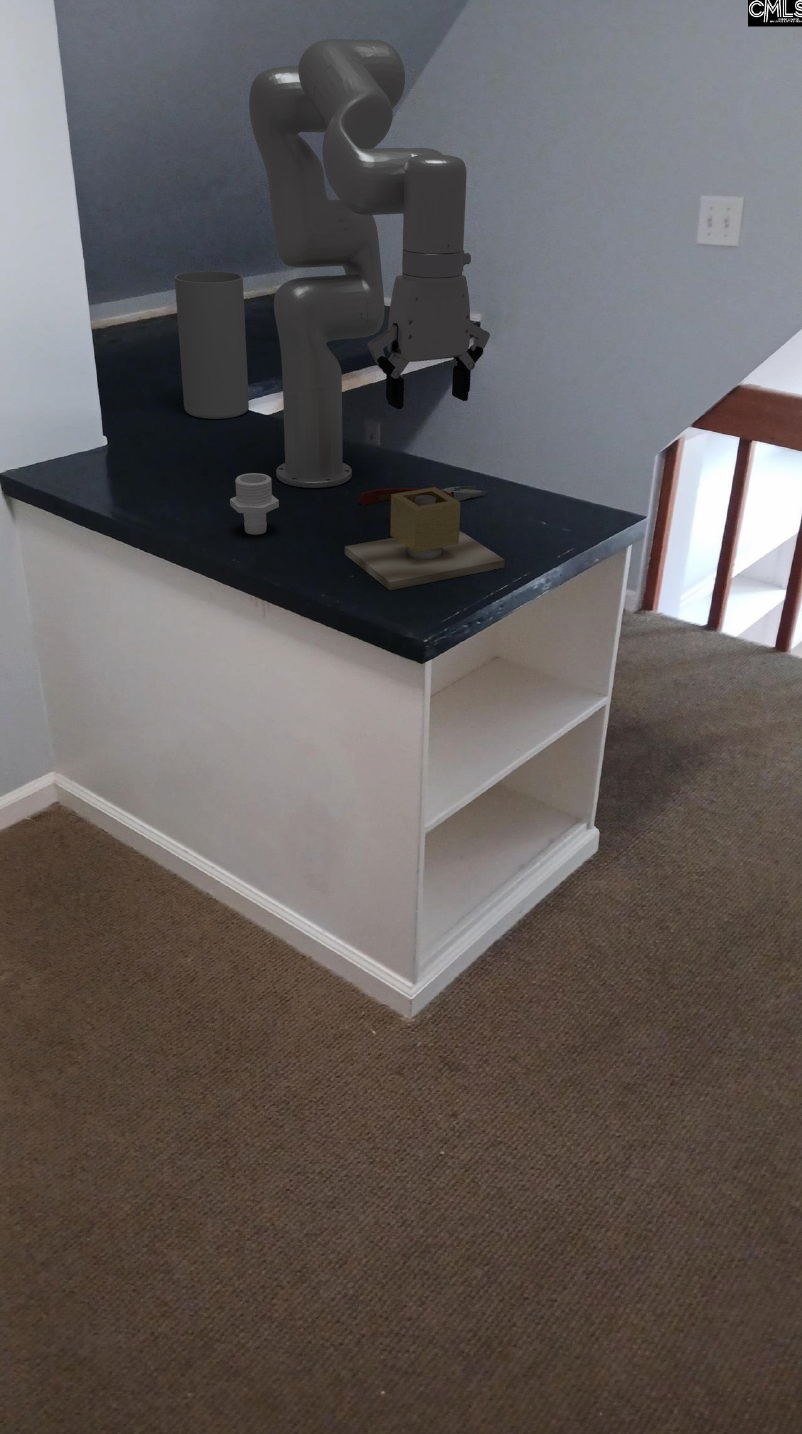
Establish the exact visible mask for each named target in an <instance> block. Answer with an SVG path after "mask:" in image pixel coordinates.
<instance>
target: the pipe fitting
mask: <svg viewBox="0 0 802 1434" xmlns="http://www.w3.org/2000/svg"><path fill="white" fill-rule="evenodd" d="M234 482H235V492H236V493H235V495H236V496H234V497H231V498H230V499H229V504H230V507H231V508H233V510H235V511H236V512H237V513H239V514H243V518H244V519H243V524H244V532H245V533H247V534H248V535H249V534H250V535H263V534H265V533H266V532H267V523H268V522H267V513H269V512H270V511H274V510H275V509H278V508H279V507H280V506H279V505H280V503H279V502H280V501H279V499H277V497H275V496H274V495H273V493H272V492H273V490H272V489H273V488H272V484H273V483H272V477H270V476H269V475H267V474H264V473H256V472H255V473H254V472H251V473H249V472H248V473H244V474H240V475H238V476H237V477H236V478H235V480H234Z"/></svg>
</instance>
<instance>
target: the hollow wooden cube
mask: <svg viewBox="0 0 802 1434" xmlns="http://www.w3.org/2000/svg"><path fill="white" fill-rule="evenodd" d="M436 487H437V486H435V487H433V488H431V487H426V488H427V489H421V490H415V491H409V492H402V493H396V494H391V501H390V513H391V523H390V536H391V538H395V539H396V540H398V541H399V542H401V543H402V544H403V545H405V546H406V547H408V548H409V549H411V550H412V551H413V552H419V551H424V550H429V549H435V548H440V547H445V546H451V545H456V544H459V530H460V524H461V523H460V522H461V521H460V520H461V501H457V500H455V499H454V498H452V497H450V496H449V495H447V494H446V493H444V492H442V491H441V490H442V489H440V488H439V489H437V488H436ZM420 495H430V496H434V497H435V498H436V503H435V504H429V505H423V506H418V505H416V504H415V498H416V497H417V496H420Z"/></svg>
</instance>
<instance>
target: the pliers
mask: <svg viewBox="0 0 802 1434" xmlns="http://www.w3.org/2000/svg"><path fill="white" fill-rule="evenodd" d="M433 487H436V488H437V489H439V490H441V491H442V492H444V493H446V494H447V495H449V496H450V497H452V498H454V499H455V500H457V501H459V502H461V501H465V500H470V499H472V498H476V497H480V496H482V495H486V494H487V492H488V491H486V490H477V489H478V485H463V486H452V487H446V488H445V487H444V488H442V489H440V487H438V486H436V484H431V485H430V488H433ZM427 488H428V487H389V488H388V487H387V488H378V489H374V490H373V489H372V490H368V491H364V492H362V493H361V494H360V495H359V499H358V502H359V505H360V506H361V505H363V506H366V505H367V504H368V505H371V504H377V503H384V502H385V503H386V502H391V494H396V493H402V492H409V491H415V490H421V489H427ZM388 520H389V523H390V524H391V512H390V513H389V517H388Z"/></svg>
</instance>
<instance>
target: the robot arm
mask: <svg viewBox="0 0 802 1434" xmlns="http://www.w3.org/2000/svg"><path fill="white" fill-rule="evenodd" d="M405 73H406V72H405V66H404V63H403V59H402V58H401V56H400V54H399V53H398V51H397V50H396V48H395V47H394V46H393V45H391V44H390V43H388V42H387V41H384V40H381V39H350V38H349V39H347V38H331V39H322V40H319V41H316V42H315V43H313V44H311V45H310V46H308V47H307V48H306V49H305V50H304V52H303V54H302V55H301V57H300V60H299V62H298V66H297V65H296V66H295V65H293V66H291V65H289V66H279V67H273V68H269V69H266V70H264V71H261V72H260V73H258V74H257V75H256V77H255V78H254V79H253V81H252V82H251V83H252V84H251V85H250V86H251V87H250V91H249V100H248V103H249V105H248V106H249V107H248V108H249V119H250V124H251V129H252V134H253V136H254V139H255V142H256V145H257V148H258V150H259V153H260V155H261V158H262V161H263V164H264V167H265V170H266V177H267V181H268V190H269V191H268V193H269V199H270V209H271V216H272V223H273V231H274V239H275V246H276V250H277V253H278V256H279V259H280V260H281V262H282V263H284V265H286V266H288V267H291V268H299V269H300V268H302V269H303V268H304V269H305V268H308V269H309V268H326V267H328V268H329V267H343V269H344V274H337V275H320V276H319V275H318V276H317V275H316V276H315V275H314V276H303V277H298V278H292V279H290V280H288V281H286V282H284V283H282V284H281V285H280V286H279V287H278V289H277V290H276V292H275V295H274V298H273V312H274V318H275V324H276V329H277V335H278V338H279V346H280V347H279V348H280V354H281V355H280V356H281V357H280V358H281V373H282V375H281V377H282V378H281V379H282V397H283V398H282V401H283V403H282V404H283V406H282V407H283V430H284V447H283V448H284V458H285V460H284V463H281V464H280V465H279V466H278V467H277V468H276V471H275V474H276V478H277V480H278V481H280V482H281V483H283V484H286V485H289V486H293V487H296V488H307V489H319V488H320V489H321V488H331V487H335V486H339V485H341V484H342V485H343V484H345V483H347V482H348V481H349V480H350V479H351V478H352V475H353V474H352V473H353V469H352V468H351V466H350V465H348V464H347V463H344V462H343V376H342V375H343V373H342V368H341V366H340V363H339V361H338V359H337V358H336V356H335V355H334V354H333V352H331V350H330V349H329V347H328V345H327V343H329V342H331V341H336V340H346V339H359V338H366V337H371V336H373V335H375V334H377V333H378V332H379V331H380V330H381V328H382V326H383V323H384V319H385V295H384V293H385V292H384V283H383V272H382V263H381V261H382V260H381V253H380V252H381V250H380V241H379V235H378V234H379V233H378V228H377V223H376V220H375V217H374V216H377V215H378V216H379V215H380V216H381V215H401V214H402V215H403V216H402V217H403V221H402V222H403V224H402V225H403V227H402V266H401V267H402V269H401V270H402V271H401V275H396V276H395V280H394V283H393V288H392V293H391V298H390V299H391V300H390V305H389V314H388V315H389V316H388V325H387V329H386V330H384V331H382V332H381V333H380V334H378V335H377V336H376V337H374V338H373V339H371V340H370V341H368V342H367V349H368V351H369V352H370V355H371V356H372V358H373V362H374V363H375V364H376V366H377V367H378V368H379V369H380V370H381V371H382V373H383V374H385V399H386V400H387V404H388V405H389V406H391V407H393V408H395V409H396V410H402V409H403V408H404V398H405V397H404V396H405V379H404V378H403V377H401V375H402V373H403V372H404V370H405V369H406V367H408V365H409V363H411V362H412V363H415V362H426V361H435V360H445V359H453V360H454V362H455V363H456V365H453V368H452V382H451V384H452V385H451V386H452V388H451V395H452V397H454V398H456V399H458V400H460V401H462V402H467V401H468V400H469V393H470V390H471V373H472V371H473V370H474V369H475V367H476V363H477V362H478V361H479V360H480V359H481V357H482V356H483V354H484V349H485V348H486V346H487V344H488V342H489V339H490V337H491V333H490V332H489V331H487V330H485V329H483V328H482V327H480V326H478V325H476V324H475V323H472V322H471V308H470V307H471V305H470V304H471V303H470V295H469V293H470V292H469V288H468V281H467V277H466V275H464V274H463V273H464V266H465V265H470V264H471V262H472V256H471V253H470V252H465V249H464V239H465V221H466V220H465V219H466V196H467V167H466V163H465V162H464V161H463V159H462V158H460V157H457V156H454V155H450V154H449V155H448V154H444V153H442V152H440V151H439V150H437V149H434V148H429V147H409V148H408V147H406V148H405V147H383V148H382V147H379V148H378V147H377V146H378V145H379V144H381V142H382V141H383V140H384V139H385V138H386V137H387V135H388V133H389V131H390V129H391V126H392V123H393V114H394V113H393V111H394V110H393V109H394V108H395V107H396V106H397V105H398V104H399V102H400V100H401V98H402V96H403V95H404V90H405V83H406V74H405ZM299 133H324V136H323V140H322V162H323V163H322V162H321V161H320V159H319V157H318V156H317V154H316V152H315V151H314V150H313V148H312V147H311V145H309V143H308V142H307V141H306V140H305V139H304V138H303V137H302V136H301V135H300V134H299ZM376 147H377V148H376ZM322 164H323V165H322ZM324 172H325V173H324ZM324 174H325V175H324ZM325 176H326V178H327V181H328V184H329V185H330V187H331V188H332V190H333V192H334V193H335V194H336V196H337V198H338V199H329V197H328V196H327V192H326V184H325ZM471 335H472V337H474V339H473V341H472V342H473V344H472V345H470V340H471ZM385 347H387V352H388V353H389V354H391V355H390V356H389V358H387V357H386V355H385V352H384V350H385V349H384V348H385Z"/></svg>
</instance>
